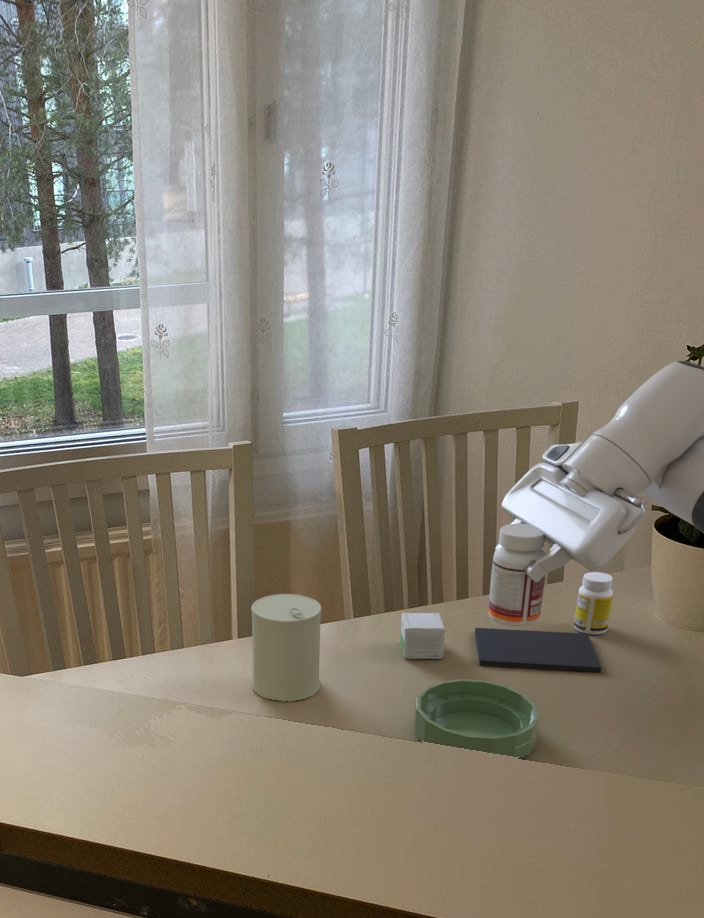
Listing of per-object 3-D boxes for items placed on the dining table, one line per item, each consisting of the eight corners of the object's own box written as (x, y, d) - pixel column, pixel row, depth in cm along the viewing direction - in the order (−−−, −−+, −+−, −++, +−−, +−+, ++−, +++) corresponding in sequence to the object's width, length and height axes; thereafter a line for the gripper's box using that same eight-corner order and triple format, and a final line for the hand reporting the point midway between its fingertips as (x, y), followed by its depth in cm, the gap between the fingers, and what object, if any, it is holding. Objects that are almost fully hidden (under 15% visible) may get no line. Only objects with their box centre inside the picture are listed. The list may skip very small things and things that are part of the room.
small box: (399, 642, 134) (401, 611, 132) (438, 642, 134) (441, 612, 132) (402, 659, 129) (404, 628, 127) (443, 660, 129) (446, 628, 126)
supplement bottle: (610, 626, 137) (619, 574, 134) (603, 638, 134) (612, 584, 130) (577, 620, 140) (585, 568, 136) (569, 631, 136) (577, 579, 133)
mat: (587, 638, 134) (587, 633, 133) (600, 672, 124) (601, 667, 124) (474, 632, 137) (475, 627, 136) (479, 665, 127) (480, 660, 127)
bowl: (527, 712, 115) (531, 683, 113) (541, 774, 102) (545, 742, 101) (414, 704, 117) (416, 676, 116) (414, 764, 105) (416, 733, 103)
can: (273, 708, 117) (273, 623, 112) (239, 679, 125) (238, 598, 120) (333, 691, 121) (336, 608, 116) (297, 664, 129) (297, 585, 123)
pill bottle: (529, 606, 115) (539, 520, 110) (547, 626, 109) (558, 536, 104) (481, 609, 115) (489, 522, 110) (496, 629, 109) (505, 539, 104)
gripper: (669, 522, 98) (573, 614, 101) (572, 474, 116) (493, 553, 119) (638, 485, 96) (540, 581, 98) (543, 442, 114) (463, 524, 117)
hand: (513, 565), depth 109 cm, fingers closed on pill bottle, 6 cm apart
